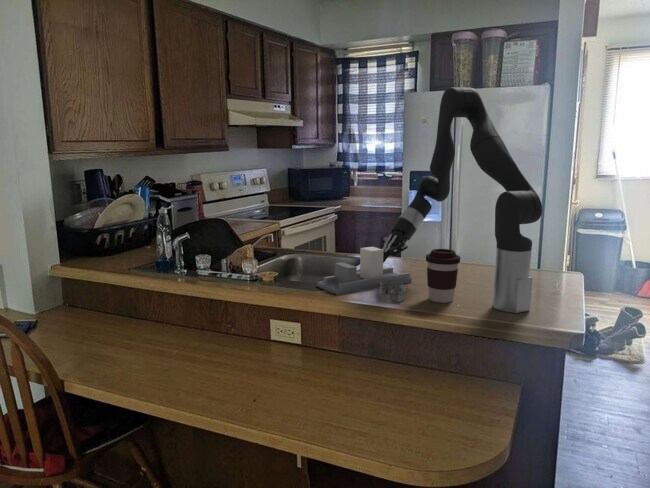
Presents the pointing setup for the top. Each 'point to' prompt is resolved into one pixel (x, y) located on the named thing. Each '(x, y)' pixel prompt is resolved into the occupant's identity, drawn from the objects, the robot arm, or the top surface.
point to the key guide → (364, 282)
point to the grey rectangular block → (345, 272)
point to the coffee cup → (442, 274)
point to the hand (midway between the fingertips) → (378, 262)
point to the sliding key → (371, 262)
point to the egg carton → (392, 292)
